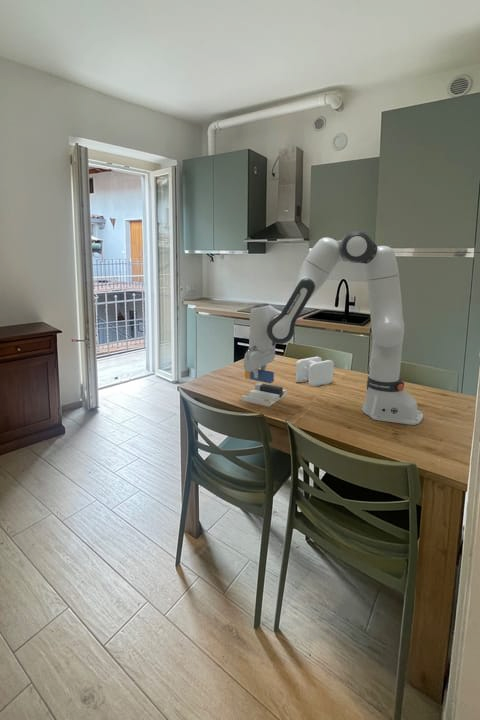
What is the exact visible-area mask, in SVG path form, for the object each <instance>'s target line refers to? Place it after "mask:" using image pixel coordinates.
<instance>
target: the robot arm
mask: <svg viewBox="0 0 480 720" xmlns="http://www.w3.org/2000/svg"><path fill="white" fill-rule="evenodd" d="M342 261H343V262H347V263H351V264H362V265H363V266H364V268H365V271H366V281H367V289H368V297H369V313H370V314H369V315H370V325H371V326H370V327H371V336H372V343H371V344H372V345H371V351H370V352H371V354H370V361H369V371H368V372H369V373H368V376H367V379H366V395H365V399H364V403H363V406H362V408H361V411H362V412H363V413H364V414H365V415H367V416H369V417H370V418H371V419H372V420H374V421H380V422H388V423H395V424H403V425H410V426H415V425H418V424H421V422H422V421H423V419H424V414H423V412H422V411H421V410H419V409H418V402H417V400H416V398H414V397H413V396H412V395H411V394H410V393H408V392H407V391H406V390H405V380H402V379H401V378H400V374H401V364H402V354H403V352H402V351H403V343H404V337H405V321H404V316H403V315H404V314H403V313H404V312H403V301H402V291H401V283H400V272H399V265H398V261H397V257H396V253H395V251H394V249H392V247H390V246H387V245H378V246H377V244H376V243H375V242H374V241H373V239H372V238H371V237H370V235H369V234H367V232H365V231H361V230H353V231H351V232H350V231H349V233H346V235H345V236H343V238H342V239H340V240H335V239H334V238H331V237H327V236H326V237H322V238H319V239H318V241H317V242H316V243H315V244H314V245H313V247H312V248H311V250H310V251H309V252H308V254H307V256H306V257H305V259H304V260H303V262H302V264H301V266H300V268H299V271H298V274H297V276H296V279H295V280H296V281H295V285H294V288H293V291H292V293H291V295H290V296H289V297H290V298H289V299H288V300H287V302H286V304H285V306H284V307H283V309H282V310H279V309H276V308H275V307H274V306H272V305H271V304H270V303H258V304H256V305H254V306H253V307H252V308H251V309H250V313H249V324H248V325H249V330H250V331H249V337H248V338H249V341H248V342H249V343H248V349H247V351H246V352H245V354H244V359H243V370H244V372H245V371H250V372H252V371H253V373H254V378H259V375H260V374H259V373H258V370H259V369H260V370H265V371H266V369H267V365H268V364H270V363H272V362H273V361H274V360H275V358H276V357H275V356H276V345H277V344H279V345H282V344H285V343H288V342H289V341H290V340H292V338H293V336H294V334H295V326H296V322H297V320H298V318H299V317H300V315H301V313H302V311H303V310H304V308H305V307H306V305H307V303H308V302H309V301H310V299H311V298H312V297H313V296H314V295H315V294H316V292H318V291H319V290H320V289H321V287H322V286H323V285H324V284H325V282H326V281H327V280H328V279H329V277H330V275H331V274H332V272H333V270H334V269H335V267H336V266H337V265H338V264H339V263H341V262H342Z"/></svg>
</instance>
